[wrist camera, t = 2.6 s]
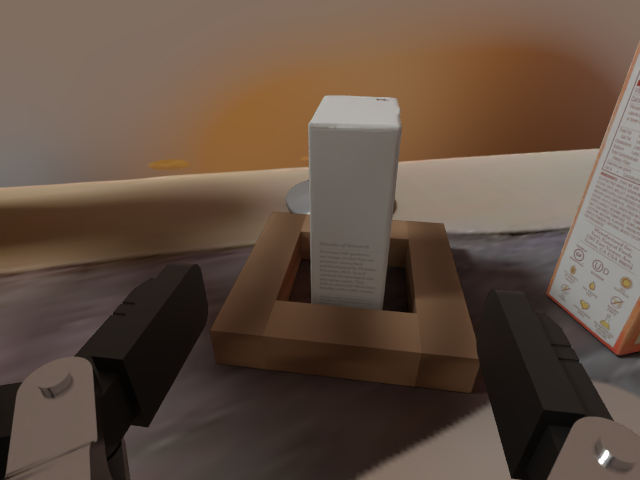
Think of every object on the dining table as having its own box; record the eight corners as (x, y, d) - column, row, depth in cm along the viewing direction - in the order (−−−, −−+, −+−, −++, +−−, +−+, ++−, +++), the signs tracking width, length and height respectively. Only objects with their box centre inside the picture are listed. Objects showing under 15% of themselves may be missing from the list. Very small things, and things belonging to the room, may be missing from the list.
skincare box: (321, 267, 28) (323, 93, 22) (381, 272, 27) (400, 96, 21) (308, 326, 23) (305, 121, 17) (381, 333, 22) (406, 125, 16)
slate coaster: (275, 223, 34) (275, 216, 33) (297, 179, 42) (297, 174, 42) (391, 231, 32) (392, 225, 32) (389, 184, 41) (390, 179, 41)
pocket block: (216, 363, 20) (209, 330, 19) (274, 238, 31) (272, 211, 30) (470, 393, 19) (481, 359, 18) (438, 250, 30) (443, 223, 29)
